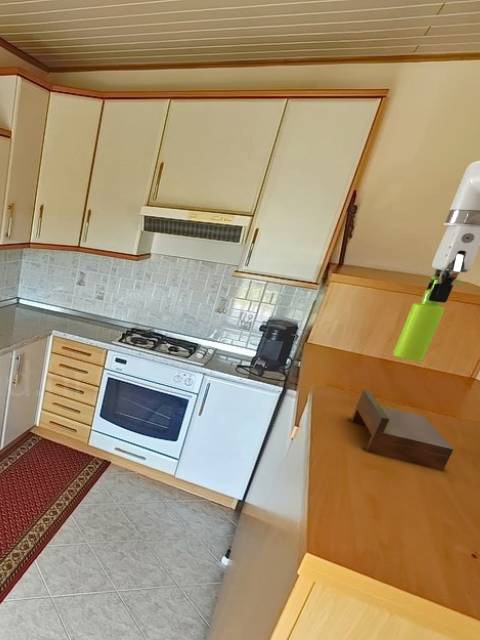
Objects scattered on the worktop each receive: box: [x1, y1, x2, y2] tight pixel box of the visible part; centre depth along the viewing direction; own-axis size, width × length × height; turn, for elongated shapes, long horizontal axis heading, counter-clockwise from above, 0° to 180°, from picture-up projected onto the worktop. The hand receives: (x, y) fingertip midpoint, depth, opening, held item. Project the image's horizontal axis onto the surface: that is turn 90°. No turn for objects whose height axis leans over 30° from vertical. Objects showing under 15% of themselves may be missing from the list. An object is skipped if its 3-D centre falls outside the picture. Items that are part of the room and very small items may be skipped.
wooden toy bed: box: [350, 389, 455, 472], centre depth 104 cm, size 12×20×8 cm, turn 151°
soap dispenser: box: [392, 276, 464, 362], centre depth 118 cm, size 6×7×20 cm
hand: (434, 299), depth 117 cm, fingers closed on soap dispenser, 3 cm apart
